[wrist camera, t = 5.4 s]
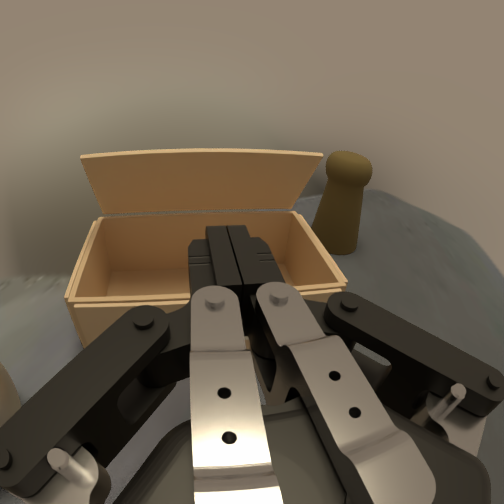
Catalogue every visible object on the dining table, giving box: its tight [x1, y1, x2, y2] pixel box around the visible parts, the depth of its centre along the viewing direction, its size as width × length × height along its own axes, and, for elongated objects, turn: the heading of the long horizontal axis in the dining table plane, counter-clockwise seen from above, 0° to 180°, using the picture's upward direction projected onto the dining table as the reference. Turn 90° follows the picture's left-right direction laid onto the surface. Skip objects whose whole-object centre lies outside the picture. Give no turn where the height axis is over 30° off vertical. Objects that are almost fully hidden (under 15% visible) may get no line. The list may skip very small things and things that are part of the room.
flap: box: [80, 149, 323, 214], centre depth 24 cm, size 17×1×8 cm
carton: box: [64, 211, 348, 349], centre depth 25 cm, size 19×12×6 cm, turn 102°
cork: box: [311, 151, 372, 255], centre depth 35 cm, size 6×6×11 cm
